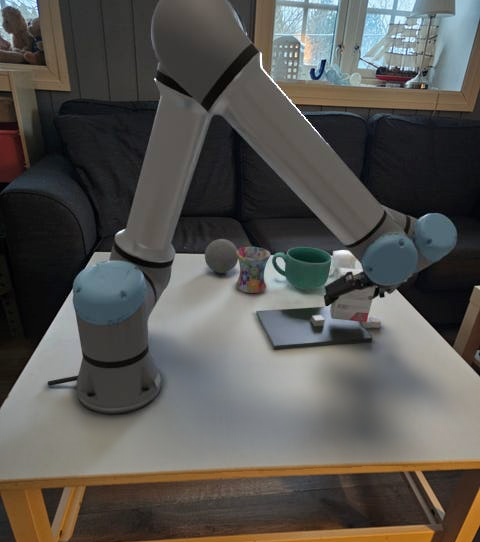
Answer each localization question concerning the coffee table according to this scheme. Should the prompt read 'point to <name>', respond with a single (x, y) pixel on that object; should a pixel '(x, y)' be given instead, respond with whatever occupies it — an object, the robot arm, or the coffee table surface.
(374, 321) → the chalk flake
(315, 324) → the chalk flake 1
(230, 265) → the decorative ball
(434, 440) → the coffee table surface
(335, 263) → the white figurine
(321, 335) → the slate board
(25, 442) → the coffee table surface
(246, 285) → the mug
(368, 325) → the chalk flake
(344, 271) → the ink box
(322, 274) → the mug
